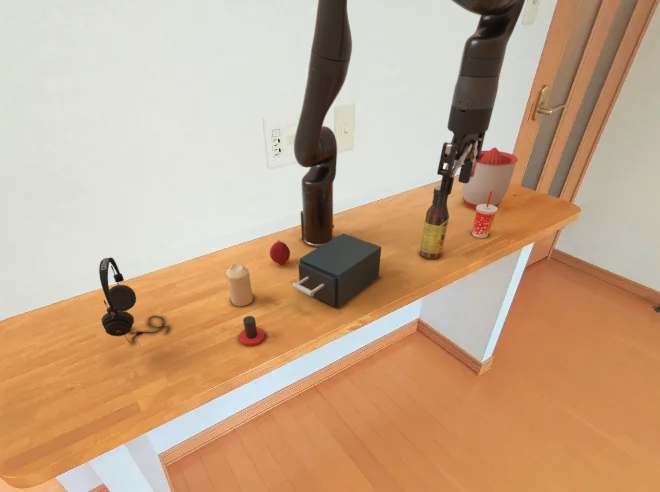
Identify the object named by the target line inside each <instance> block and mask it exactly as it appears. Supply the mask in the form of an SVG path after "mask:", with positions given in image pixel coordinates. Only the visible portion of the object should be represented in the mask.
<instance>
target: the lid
mask: <svg viewBox="0 0 660 492" xmlns="http://www.w3.org/2000/svg"><path fill="white" fill-rule="evenodd" d="M242 321H243V322H242V323H243V328H244V329H243V330H242V331H241V332H240V333H239V342H240V343H241V344H242V345H244V346H247V347H248V346H249V347H250V346H251V347H253V346H257V345H259V344H260V343H262V342H263V341H264V339H265V332H264V330H263V329H262V328H260V327H258V326H257V323H256V317H254V316H252V315H246V316H245V317H244V318H243V319H242Z"/></svg>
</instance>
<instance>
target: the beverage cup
mask: <svg viewBox="0 0 660 492" xmlns="http://www.w3.org/2000/svg"><path fill="white" fill-rule="evenodd" d="M491 194H492V191H490V195H489V199H488V202H487V204H479V205H477V206H476V210H475V215H474V221H473V226H472V227H473V228H472V233H471V234H472V236H473V237H475V238H479V239H485V238H487V237H488V236H489V233H490V230H491V227H492V225H493V221H494V219H495V216H496V213H498V210H499V208H498V207H496V206H493V205H490V204H489V201H490V198H491Z"/></svg>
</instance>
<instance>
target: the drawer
mask: <svg viewBox="0 0 660 492" xmlns="http://www.w3.org/2000/svg"><path fill="white" fill-rule="evenodd" d="M298 280H299V281H297V282H293V283H292V284H291V287H292V288H293V289H295V290H297V291H298V292H300V293H302V294H305V295H307V296H308V297H311V298H312V297H314V298H316V299H318V300H320V301H322V302H323V303H326V304H328V305H330V306H332V307H336V306H335V305H336V300H337V278H336V277H335V276H333V275H331V274H328V273H326V272H324V271H322V270H319V269H317V268H315V267H313V266H310V265H308V264H304V263H302V262H301V263H300V262H299V263H298Z"/></svg>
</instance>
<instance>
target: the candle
mask: <svg viewBox="0 0 660 492" xmlns="http://www.w3.org/2000/svg"><path fill="white" fill-rule="evenodd" d="M225 275H226V280H227V284H228V290H229V296H230V300H231V303H232V304H233V305H234V306H236V307H245V306H248V305H249V304H251V303H252V302H253V300H254V299H253V298H254V297H253V291H252V284H251V278H250V270H249V268H248V267H246V266H244V265H243V264H240V263H239V264H237V263H236V264H235V263H234V264H232V265H231V266H230V267H229V268H228V269H227V270H226V272H225Z"/></svg>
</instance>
